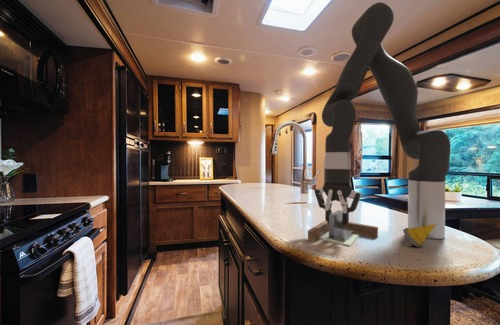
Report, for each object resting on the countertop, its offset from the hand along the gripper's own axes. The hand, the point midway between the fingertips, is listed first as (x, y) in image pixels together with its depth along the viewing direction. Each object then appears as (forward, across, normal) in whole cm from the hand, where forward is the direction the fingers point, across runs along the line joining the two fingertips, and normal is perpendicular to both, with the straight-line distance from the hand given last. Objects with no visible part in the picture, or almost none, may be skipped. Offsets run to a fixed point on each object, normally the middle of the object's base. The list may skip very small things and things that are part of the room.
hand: (336, 223), depth 66 cm
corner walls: (+4, -2, 0) cm, 5 cm away
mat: (+4, -2, 0) cm, 4 cm away
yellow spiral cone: (+4, -20, -7) cm, 21 cm away
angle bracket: (+4, -1, 0) cm, 4 cm away
